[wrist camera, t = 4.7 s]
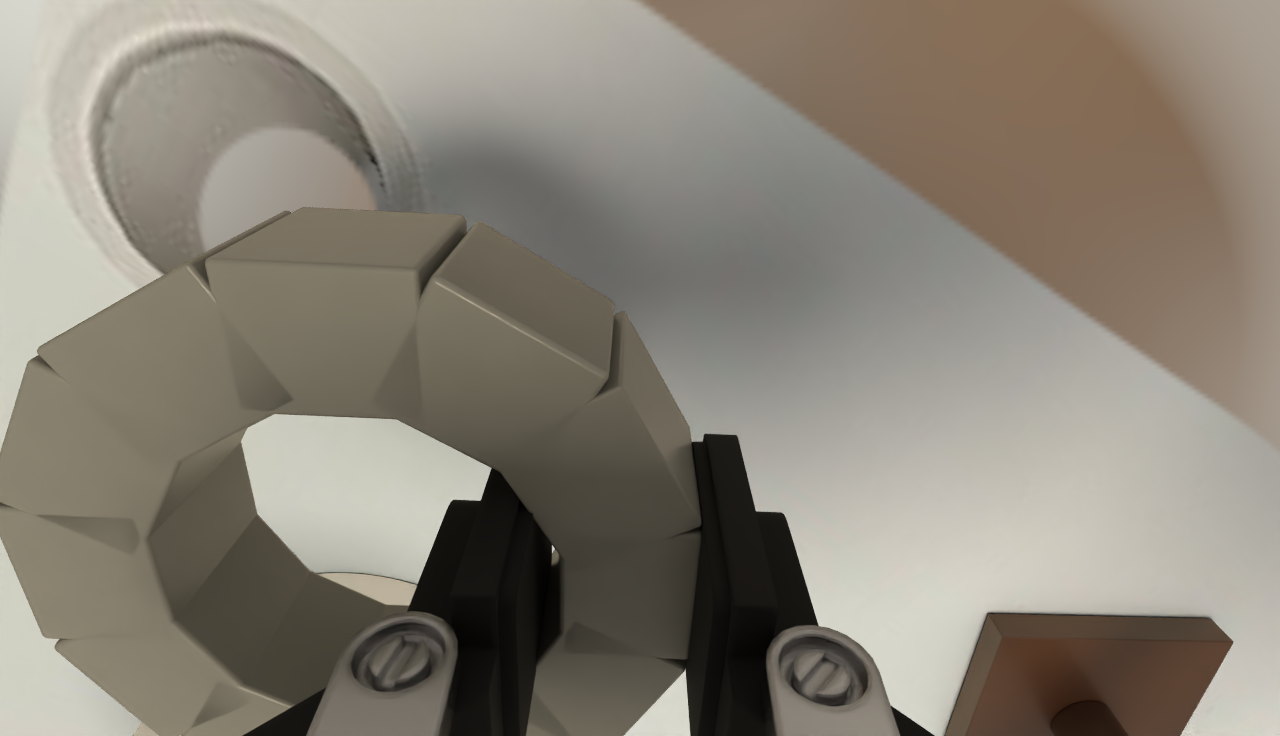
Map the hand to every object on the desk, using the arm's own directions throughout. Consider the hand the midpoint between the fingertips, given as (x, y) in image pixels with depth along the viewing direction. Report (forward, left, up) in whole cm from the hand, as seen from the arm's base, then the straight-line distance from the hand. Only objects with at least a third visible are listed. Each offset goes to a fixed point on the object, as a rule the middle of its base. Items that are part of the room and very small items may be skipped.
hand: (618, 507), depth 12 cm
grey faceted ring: (+4, 0, 0) cm, 4 cm away
